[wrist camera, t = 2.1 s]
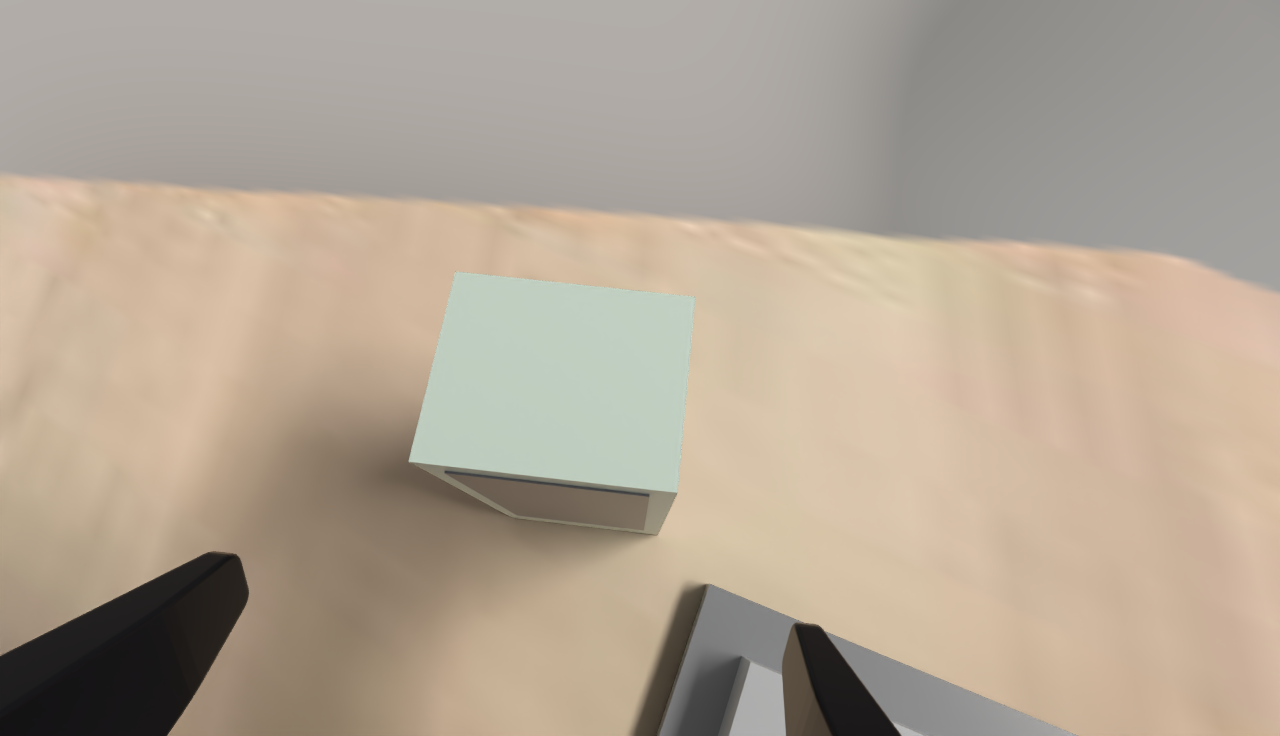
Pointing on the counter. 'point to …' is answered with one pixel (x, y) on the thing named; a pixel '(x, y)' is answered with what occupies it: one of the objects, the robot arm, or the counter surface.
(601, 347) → the rectangular block
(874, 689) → the charging dock
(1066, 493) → the counter surface
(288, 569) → the counter surface
